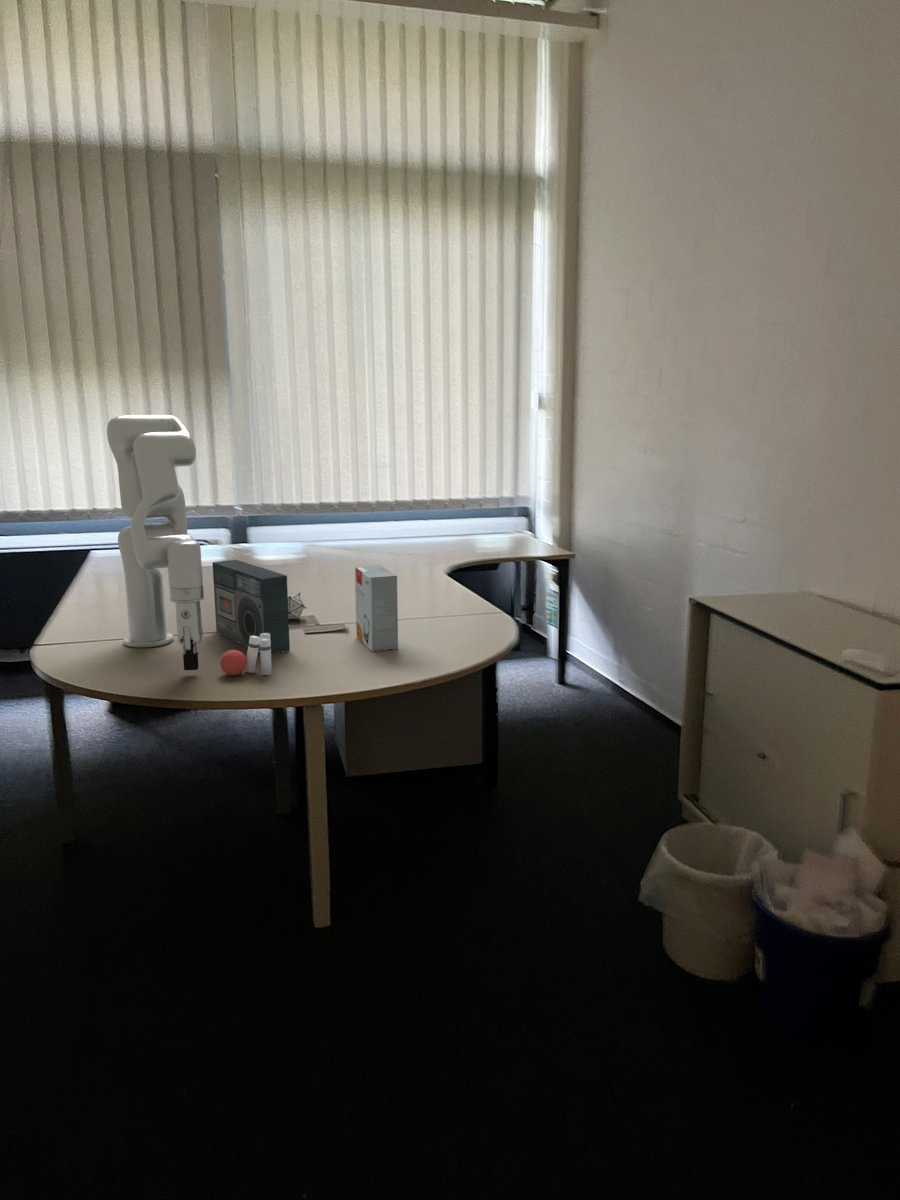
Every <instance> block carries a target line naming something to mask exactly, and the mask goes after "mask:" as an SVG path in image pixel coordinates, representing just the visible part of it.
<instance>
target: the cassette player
mask: <svg viewBox="0 0 900 1200" xmlns="http://www.w3.org/2000/svg"><path fill="white" fill-rule="evenodd" d="M211 564H212V575H213V576H212V578H213V595H214V613H215V627H216V628H215V630H216V631H215V633H217V634H219V635H221V636H223V635H224V636H223V637H226V638H229V639H230V640H232V639H233V640H232V641H234V640H235V642H236V641H238V642H240V643H242V644H241V645H243V644H244V645H243V646H245V645H247V646H248V645H249V640H250V636H258V637H260V634H262V633H270V640H271V655H273V654H272V653H275V654H278V653H277V652H280V653H283V652H282V651H285V652H288V651H287V650H291V649H290V648H291V647H290V646H291V645H290V622H289V621H290V619H289V617H288V595H289V594H288V593H289V592H288V575H286V574H283V573H279V572H276V571H273V570H271V569H267V568H264V567H260V566H257V565H255V564H251V563H248V562H244V561H242V560H239V559H230V560H229V559H228V560H222V561H221V560H220V561H213V562H212V563H211ZM238 642H237V643H238ZM240 643H239V644H240ZM247 646H246V647H247ZM258 651H259V652H258V653H260V643H259V648H258Z"/></svg>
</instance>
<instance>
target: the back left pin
mask: <svg viewBox="0 0 900 1200" xmlns="http://www.w3.org/2000/svg"><path fill="white" fill-rule="evenodd" d="M264 638H268V639H270V633H262V634H260V639H264ZM270 645H271V640H270ZM272 664H273V663H271V669H272V668H273V667H272Z"/></svg>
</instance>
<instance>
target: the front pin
mask: <svg viewBox="0 0 900 1200" xmlns="http://www.w3.org/2000/svg"><path fill="white" fill-rule="evenodd" d="M259 643H260V637H258V636H250V640H249V645H248V647H247V653H246V656H245V658H246V667H245V669H244V670H243V672H245V673H249V674H250V673H251V674H252V673H253V674H254V673H255V670H256V665H257V660H258V653H259V652H258V648H259Z"/></svg>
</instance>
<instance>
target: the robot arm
mask: <svg viewBox="0 0 900 1200" xmlns="http://www.w3.org/2000/svg"><path fill="white" fill-rule="evenodd" d="M106 437H107V441H108V445H109V448H110V451H111V453H112V455H113V457H114V460H115V462H116V466H117V477H118V486H119V497H120V498H119V499H120V505H121V511H122V513H123V515H124V516H125V517H126V518H127V519H131V523H130V524H131V525H128V526H126V527H123V528H122V529H121V530H120V531H119V533H118V536H117V546H118V549H119V552H120V557H121V562H122V566H123V567H122V568H123V573H124V586H125V596H126V608H127V609H126V610H127V621H128V622H127V623H128V636H126V637H124V638H123V644H124V645H125V646H127V647H130V648H142V649H143V648H153V647H155V648H156V647H160V646H164V645H167V644H170V643H171V642H173V641H174V635H173V633H171V632H167V631H168V630H167V618H166V617H167V616H166V614H167V613H166V605H165V603H166V602H165V590H164V589H165V587H164V578H163V575H162V573H161V571H160V569H166V568H167V573H168V574H167V576H168V587H169V588H168V589H169V601H170V602H171V603H175V605H174V606H175V621H176V629H177V631H176V632H177V639H178V640H177V641H178V643H179V645H182V651H183V654H182V656H183V657H182V658H183V669H184V671H198V669H199V667H200V665H199V652H198V646H197V645H198V644H200V643H201V642H202V638H203V636H204V633H203V632H204V630H203V629H204V628H203V620H202V608H201V601H202V600H203V601H204V598H205V597H204V596H205V595H204V584H203V582H204V581H203V567H202V550H201V549H202V548H201V544H200V542H199V541H198V540H195V538H194V537H193V536H191V535H190V534H189V533H188V523H187V521H188V520H187V508H186V498H185V494H184V492H183V488H182V487H181V485H179V482H178V478H177V473H176V468H175V467H177V468H178V467H189V466H192V465H194V463H195V461H196V458H197V450H196V445H195V441H194V439H193V436H192V435H191V433H190V432H189V430H188V429H187V428H186V427H185V425H184V423H182V421H181V420H180V419H179V418H177V416H175V415H170V414H130V415H129V414H127V415H120V416H115V417H113V418H111V419H110V420H109V421H108V423H107V425H106ZM163 518H164V519H165V521H166V522H156V523H153V522H152V523H151V522H150V523H146V520H151V519H163Z"/></svg>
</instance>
